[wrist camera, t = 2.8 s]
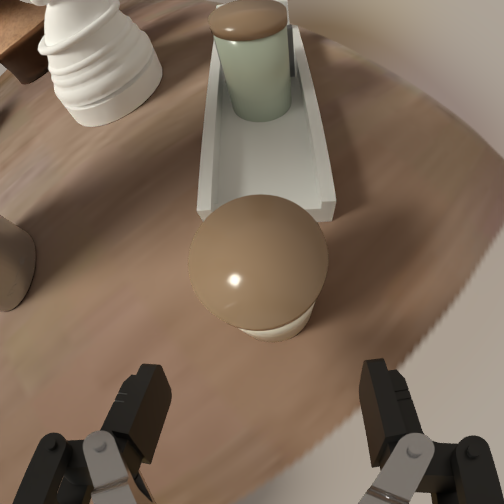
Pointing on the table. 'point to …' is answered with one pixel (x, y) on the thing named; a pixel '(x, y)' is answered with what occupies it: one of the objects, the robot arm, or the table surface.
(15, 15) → the pitcher
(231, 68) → the sage jar
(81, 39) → the honey pot
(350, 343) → the table surface
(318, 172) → the jar lane
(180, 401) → the table surface
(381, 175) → the table surface
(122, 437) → the robot arm
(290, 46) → the pusher
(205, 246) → the cream jar
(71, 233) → the table surface
